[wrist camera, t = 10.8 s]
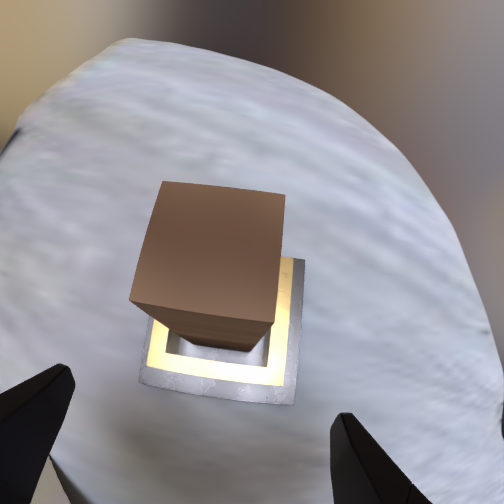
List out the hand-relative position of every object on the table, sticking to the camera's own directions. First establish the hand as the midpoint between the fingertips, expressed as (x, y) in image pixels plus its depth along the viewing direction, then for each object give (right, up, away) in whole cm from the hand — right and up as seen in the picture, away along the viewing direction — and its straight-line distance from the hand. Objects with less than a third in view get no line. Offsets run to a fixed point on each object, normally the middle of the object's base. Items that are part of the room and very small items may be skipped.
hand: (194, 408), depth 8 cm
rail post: (0, 0, +12) cm, 12 cm away
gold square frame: (0, -1, +13) cm, 13 cm away
